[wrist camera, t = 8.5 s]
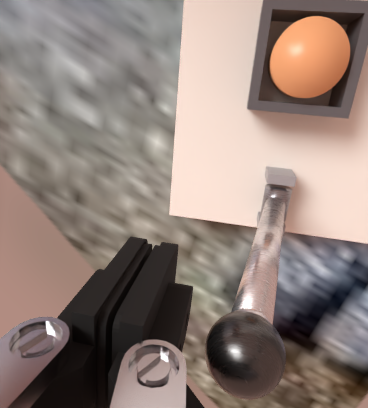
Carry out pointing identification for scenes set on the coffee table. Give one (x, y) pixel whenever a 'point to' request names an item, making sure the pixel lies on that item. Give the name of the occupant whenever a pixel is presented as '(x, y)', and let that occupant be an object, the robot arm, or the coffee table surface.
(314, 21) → the push button
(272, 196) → the toggle lever
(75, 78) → the coffee table surface
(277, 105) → the switch board
